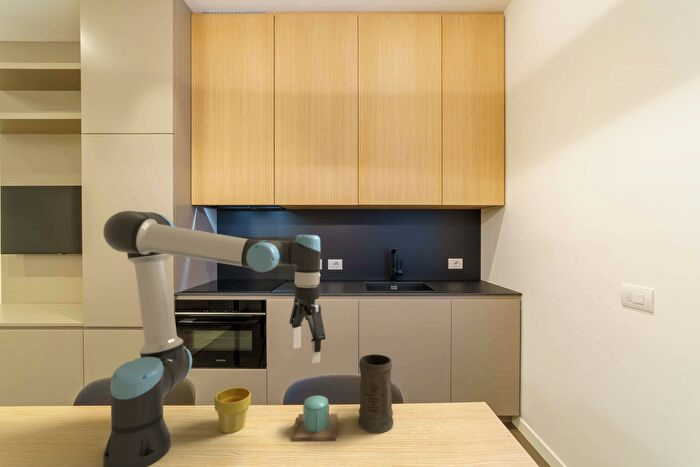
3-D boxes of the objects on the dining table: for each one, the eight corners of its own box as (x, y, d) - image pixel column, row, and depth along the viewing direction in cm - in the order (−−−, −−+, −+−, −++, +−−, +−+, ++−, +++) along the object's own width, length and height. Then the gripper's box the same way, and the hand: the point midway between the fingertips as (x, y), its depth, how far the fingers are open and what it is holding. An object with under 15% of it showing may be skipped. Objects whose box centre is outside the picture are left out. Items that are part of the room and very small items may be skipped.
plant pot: (256, 418, 107) (256, 387, 107) (242, 438, 97) (242, 404, 96) (224, 416, 108) (224, 385, 108) (207, 436, 98) (207, 402, 97)
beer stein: (395, 435, 98) (395, 364, 99) (358, 434, 98) (358, 363, 99) (390, 410, 113) (390, 349, 114) (358, 410, 113) (358, 348, 114)
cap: (332, 427, 100) (332, 403, 100) (309, 434, 97) (309, 409, 96) (322, 415, 106) (322, 393, 106) (300, 422, 103) (300, 399, 103)
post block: (292, 440, 95) (292, 415, 95) (298, 417, 107) (298, 395, 107) (335, 440, 95) (335, 415, 95) (337, 417, 107) (336, 394, 107)
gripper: (338, 291, 95) (336, 366, 96) (301, 279, 116) (300, 341, 117) (314, 293, 91) (312, 372, 92) (280, 280, 112) (279, 344, 113)
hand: (305, 354), depth 104 cm, fingers open, 13 cm apart
